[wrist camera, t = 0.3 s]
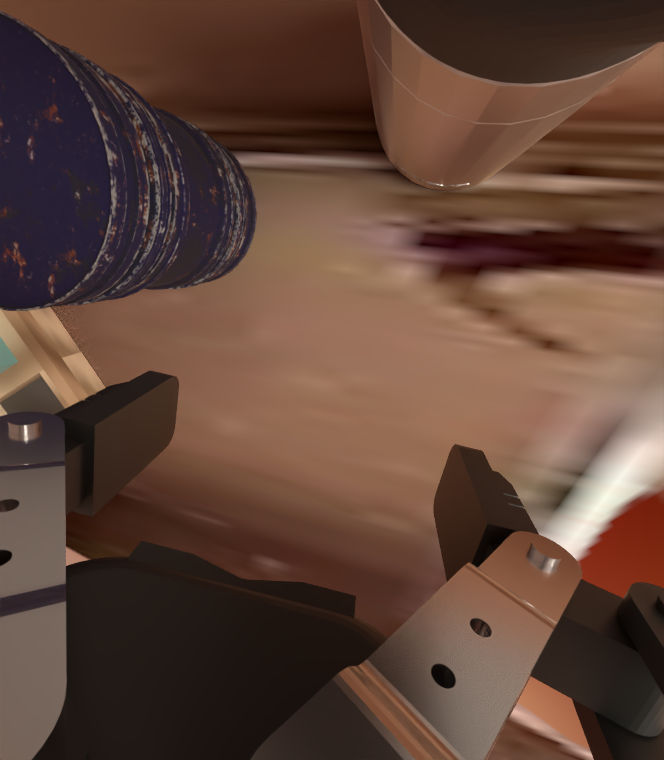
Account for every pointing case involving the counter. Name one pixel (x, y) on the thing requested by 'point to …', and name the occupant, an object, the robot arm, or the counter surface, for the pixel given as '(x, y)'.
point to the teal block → (6, 357)
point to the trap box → (42, 365)
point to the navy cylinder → (105, 185)
